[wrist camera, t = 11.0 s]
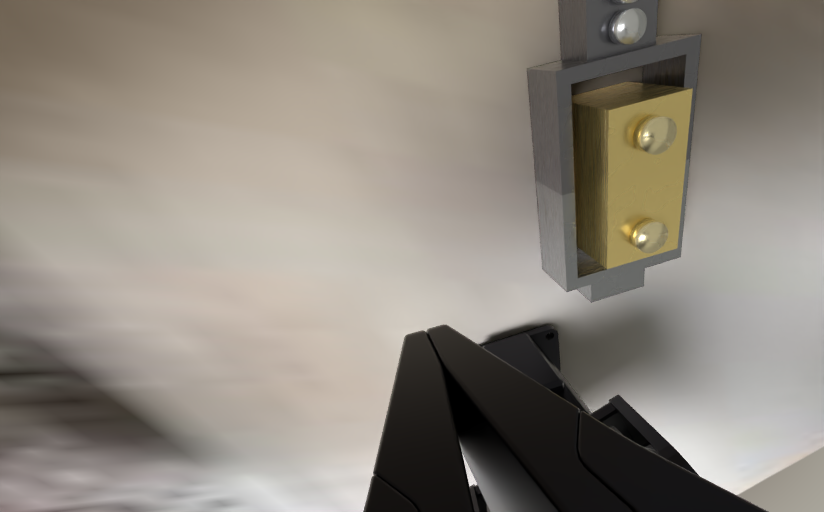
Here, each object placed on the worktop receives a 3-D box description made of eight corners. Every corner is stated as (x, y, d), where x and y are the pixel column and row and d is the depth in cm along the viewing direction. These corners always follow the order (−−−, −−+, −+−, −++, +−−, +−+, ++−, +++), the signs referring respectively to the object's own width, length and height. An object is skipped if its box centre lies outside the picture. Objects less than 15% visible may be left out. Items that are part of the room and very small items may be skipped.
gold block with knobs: (621, 218, 23) (687, 253, 19) (561, 235, 23) (615, 275, 19) (625, 81, 20) (705, 89, 16) (555, 99, 20) (619, 112, 16)
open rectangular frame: (645, 261, 25) (679, 282, 22) (544, 292, 24) (569, 317, 22) (660, -45, 18) (712, -58, 16) (520, -11, 17) (552, -21, 15)
